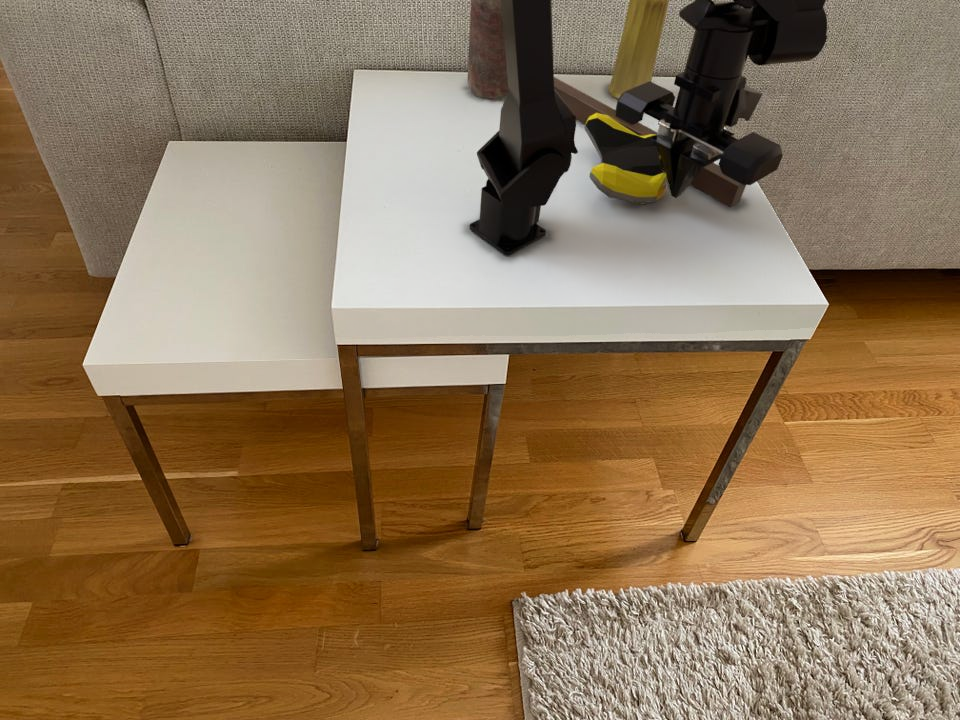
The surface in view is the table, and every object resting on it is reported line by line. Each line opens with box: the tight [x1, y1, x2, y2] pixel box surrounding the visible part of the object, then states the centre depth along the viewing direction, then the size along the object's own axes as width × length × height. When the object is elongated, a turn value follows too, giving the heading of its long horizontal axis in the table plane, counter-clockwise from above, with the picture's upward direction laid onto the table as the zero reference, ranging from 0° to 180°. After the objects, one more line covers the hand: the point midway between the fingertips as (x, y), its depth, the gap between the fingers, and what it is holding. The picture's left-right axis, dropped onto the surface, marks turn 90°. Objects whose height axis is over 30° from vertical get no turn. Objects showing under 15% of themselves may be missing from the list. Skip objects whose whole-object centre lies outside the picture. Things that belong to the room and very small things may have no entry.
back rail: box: [554, 76, 747, 208], centre depth 94 cm, size 2×34×3 cm, turn 42°
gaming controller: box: [584, 113, 668, 205], centre depth 87 cm, size 15×6×10 cm
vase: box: [608, 0, 670, 100], centre depth 100 cm, size 6×6×14 cm
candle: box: [467, 0, 508, 99], centre depth 97 cm, size 8×7×20 cm
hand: (675, 196), depth 84 cm, fingers closed
